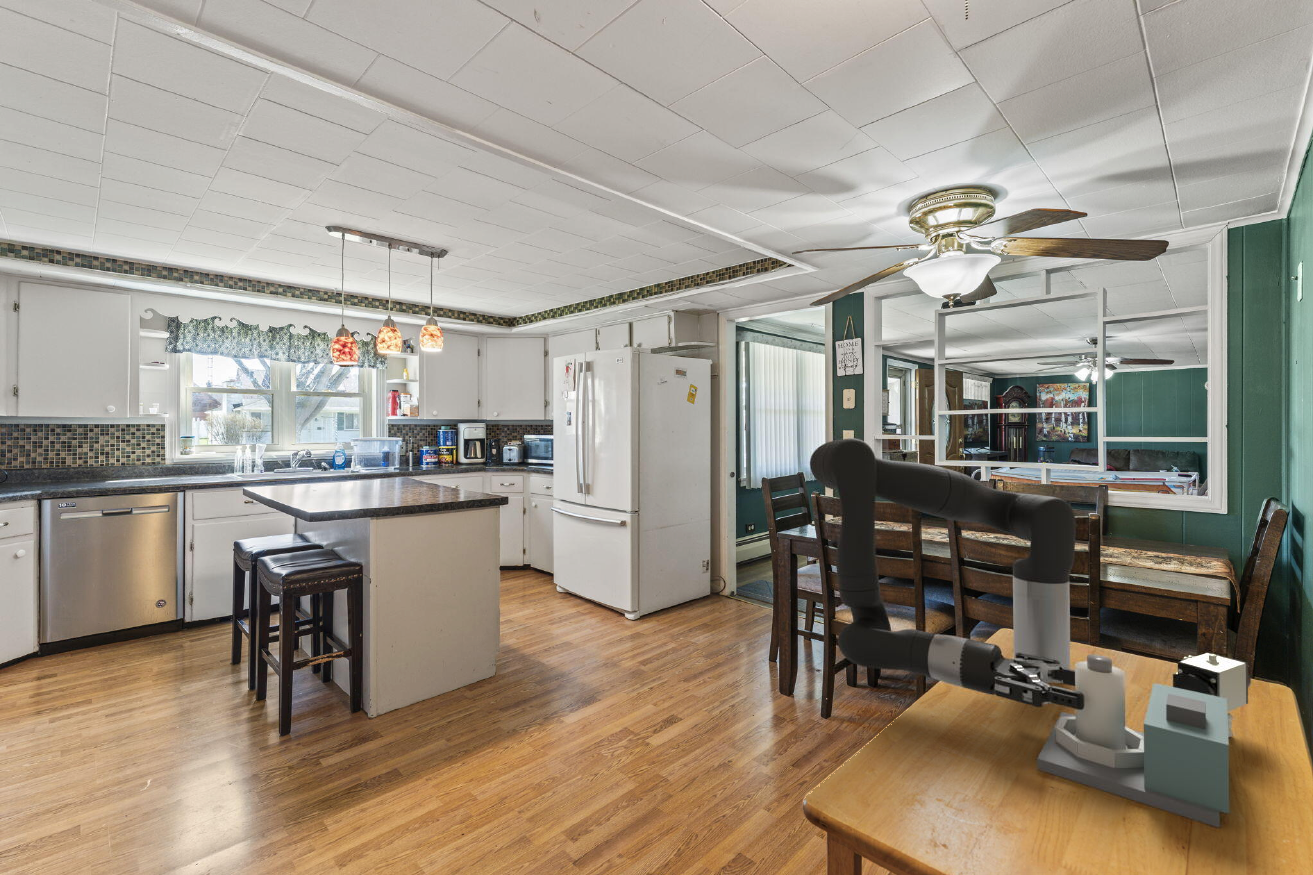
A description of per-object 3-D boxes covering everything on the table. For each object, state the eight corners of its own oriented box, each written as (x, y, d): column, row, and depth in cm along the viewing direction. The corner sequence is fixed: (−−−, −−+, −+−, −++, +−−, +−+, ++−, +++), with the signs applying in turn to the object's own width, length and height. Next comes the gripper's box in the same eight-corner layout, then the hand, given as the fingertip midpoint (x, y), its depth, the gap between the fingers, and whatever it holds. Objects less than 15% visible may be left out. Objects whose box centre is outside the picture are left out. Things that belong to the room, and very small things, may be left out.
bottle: (1077, 732, 88) (1077, 647, 88) (1129, 746, 84) (1128, 657, 83) (1070, 748, 83) (1069, 659, 83) (1124, 764, 79) (1124, 670, 79)
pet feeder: (1062, 719, 94) (1062, 647, 94) (1227, 763, 82) (1226, 679, 81) (1037, 769, 81) (1036, 684, 81) (1229, 831, 68) (1228, 730, 68)
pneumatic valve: (1253, 732, 90) (1252, 653, 89) (1212, 751, 85) (1212, 667, 85) (1206, 717, 95) (1206, 642, 95) (1166, 733, 90) (1165, 654, 90)
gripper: (950, 651, 90) (1080, 681, 79) (977, 628, 100) (1095, 651, 89) (950, 701, 90) (1081, 737, 79) (977, 672, 101) (1096, 700, 89)
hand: (1088, 691), depth 84 cm, fingers open, 8 cm apart
